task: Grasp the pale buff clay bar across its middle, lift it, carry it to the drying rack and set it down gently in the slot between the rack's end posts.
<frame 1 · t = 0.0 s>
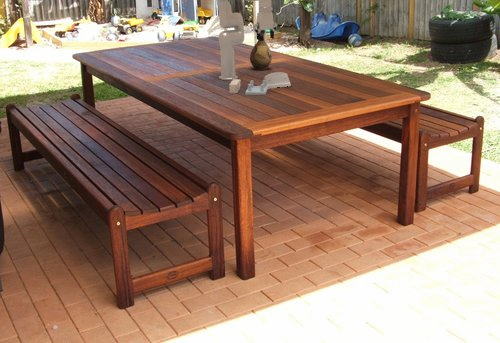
hand: (265, 39, 422), 31 cm above the table, tool pointing down, fingers open, 9 cm apart
white rounded boxy piece: (277, 87, 441), on the table, touching rack
ceramic jug: (261, 69, 498), on the table
clay bar: (235, 90, 433), on the table
rack: (257, 91, 428), on the table
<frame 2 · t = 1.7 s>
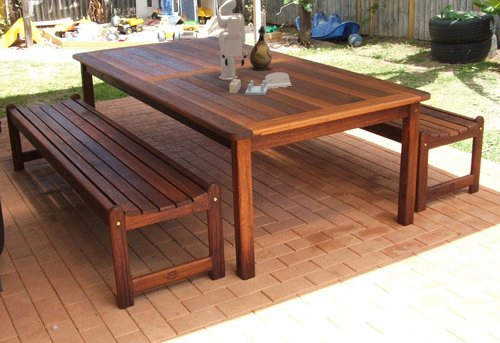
hand: (234, 65, 428), 15 cm above the table, tool pointing down, fingers open, 9 cm apart
nothing on the table moved.
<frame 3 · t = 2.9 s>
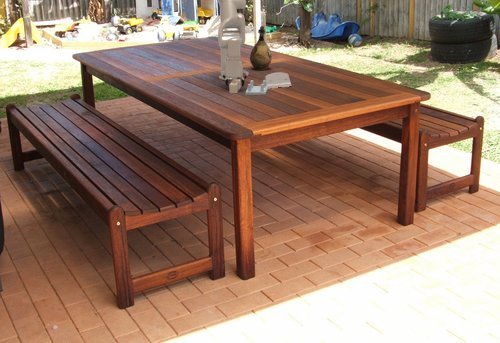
hand: (235, 85, 432), 3 cm above the table, tool pointing down, fingers open, 9 cm apart
nothing on the table moved.
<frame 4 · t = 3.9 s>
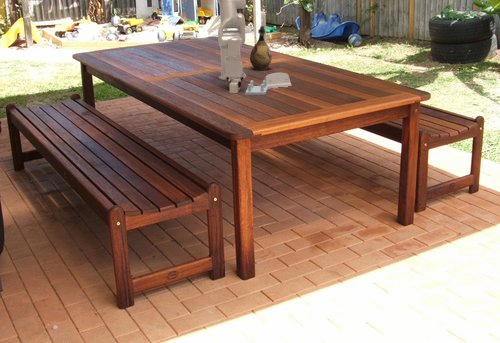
hand: (235, 87, 432), 2 cm above the table, tool pointing down, fingers closed on clay bar, 4 cm apart
clay bar: (235, 90, 433), on the table, touching gripper
everything else where it was.
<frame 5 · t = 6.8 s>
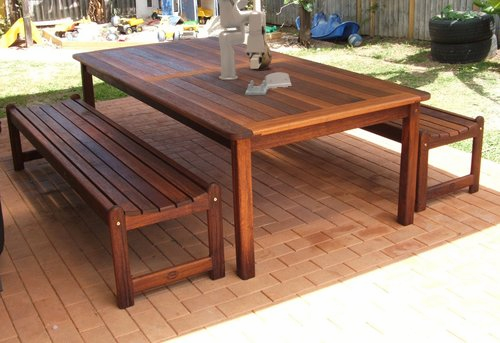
hand: (255, 63, 423), 17 cm above the table, tool pointing down, fingers closed on clay bar, 4 cm apart
clay bar: (255, 66, 423), point 16 cm above the table, touching gripper
everything else where it was.
when the fingers open (4 cm above the table, at t = 10.1 s): clay bar stays where it is, resting on rack.
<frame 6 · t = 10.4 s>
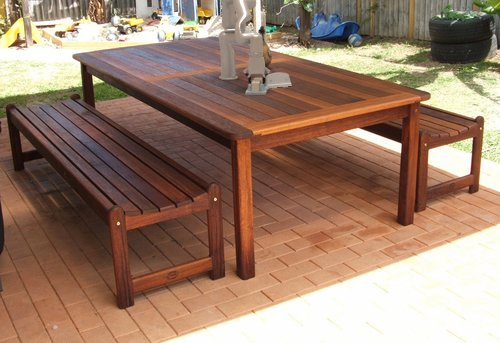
hand: (256, 83, 427), 5 cm above the table, tool pointing down, fingers open, 7 cm apart
clay bar: (256, 89, 428), point 1 cm above the table, touching rack
everything else where it was.
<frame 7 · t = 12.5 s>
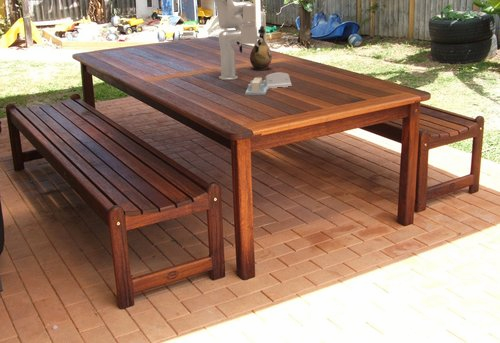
hand: (249, 52, 428), 23 cm above the table, tool pointing down, fingers open, 9 cm apart
nothing on the table moved.
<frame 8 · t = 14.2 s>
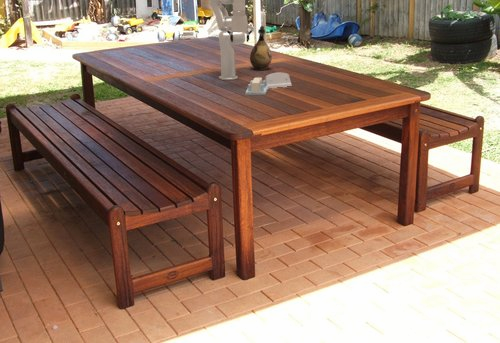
hand: (239, 41, 434), 28 cm above the table, tool pointing down, fingers open, 9 cm apart
nothing on the table moved.
at the end: clay bar 0.1 cm off-centre on the rack, point 1.5 cm above the rack's base; clay bar tilted 0°; the gripper is holding nothing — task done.
